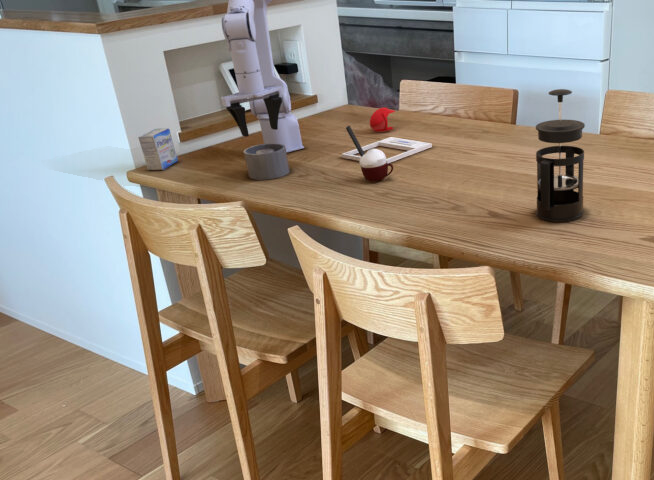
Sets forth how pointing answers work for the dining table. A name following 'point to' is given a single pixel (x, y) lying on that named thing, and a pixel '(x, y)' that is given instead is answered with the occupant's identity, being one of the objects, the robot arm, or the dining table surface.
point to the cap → (380, 120)
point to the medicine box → (158, 149)
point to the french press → (558, 190)
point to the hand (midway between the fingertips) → (260, 132)
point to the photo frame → (392, 143)
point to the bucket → (266, 162)
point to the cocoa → (371, 161)
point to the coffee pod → (264, 151)
